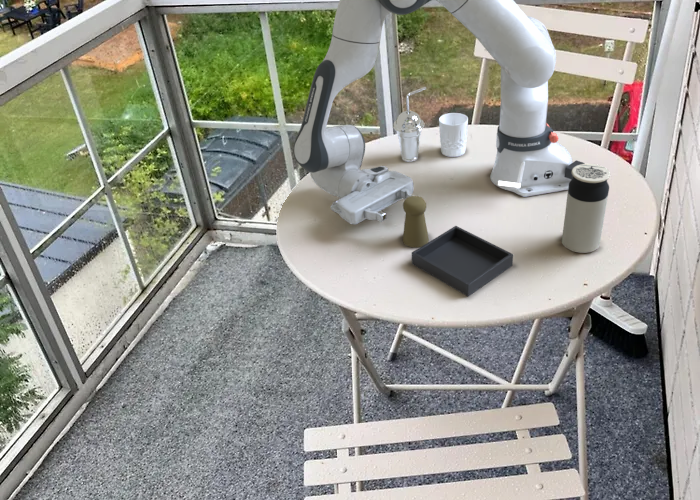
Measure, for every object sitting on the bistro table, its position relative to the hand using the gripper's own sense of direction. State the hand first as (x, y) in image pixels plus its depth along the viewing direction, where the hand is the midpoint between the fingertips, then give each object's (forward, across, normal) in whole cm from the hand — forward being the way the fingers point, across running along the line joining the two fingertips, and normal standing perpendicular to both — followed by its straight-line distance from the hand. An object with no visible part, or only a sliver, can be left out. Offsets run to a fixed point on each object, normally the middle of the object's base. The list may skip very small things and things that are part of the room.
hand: (398, 209), depth 151 cm
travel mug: (+33, +23, +6) cm, 41 cm away
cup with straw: (-24, +27, +6) cm, 37 cm away
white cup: (-17, +38, +6) cm, 42 cm away
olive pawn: (+5, 0, +6) cm, 8 cm away
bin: (+19, 0, +6) cm, 20 cm away
